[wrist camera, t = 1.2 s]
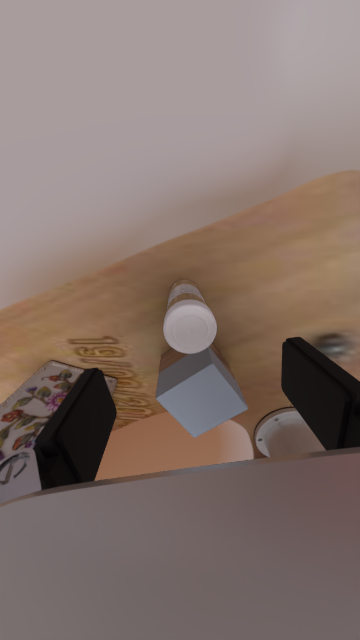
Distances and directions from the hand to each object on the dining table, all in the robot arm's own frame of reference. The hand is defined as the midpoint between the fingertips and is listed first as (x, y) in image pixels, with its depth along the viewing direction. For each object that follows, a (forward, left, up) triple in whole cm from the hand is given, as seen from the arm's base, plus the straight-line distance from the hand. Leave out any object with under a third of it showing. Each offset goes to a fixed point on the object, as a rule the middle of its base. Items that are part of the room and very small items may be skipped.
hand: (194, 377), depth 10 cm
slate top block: (-10, +5, -15) cm, 19 cm away
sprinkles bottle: (0, 0, -20) cm, 20 cm away
